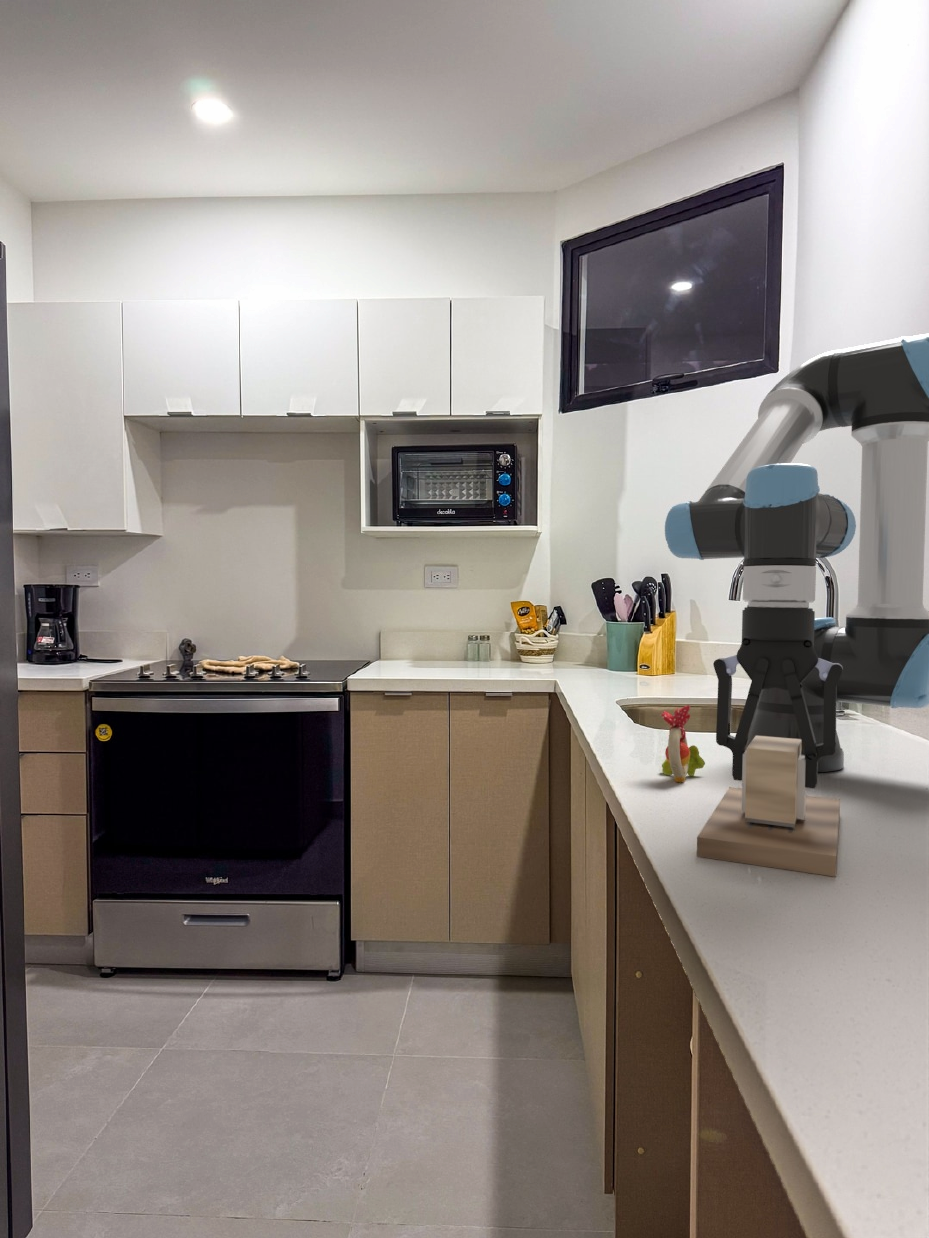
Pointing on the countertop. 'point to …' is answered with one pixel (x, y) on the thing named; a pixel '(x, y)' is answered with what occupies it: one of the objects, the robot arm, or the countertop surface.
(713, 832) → the walnut board
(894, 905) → the countertop surface
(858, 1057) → the countertop surface
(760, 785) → the block
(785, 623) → the robot arm
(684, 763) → the bird rattle
